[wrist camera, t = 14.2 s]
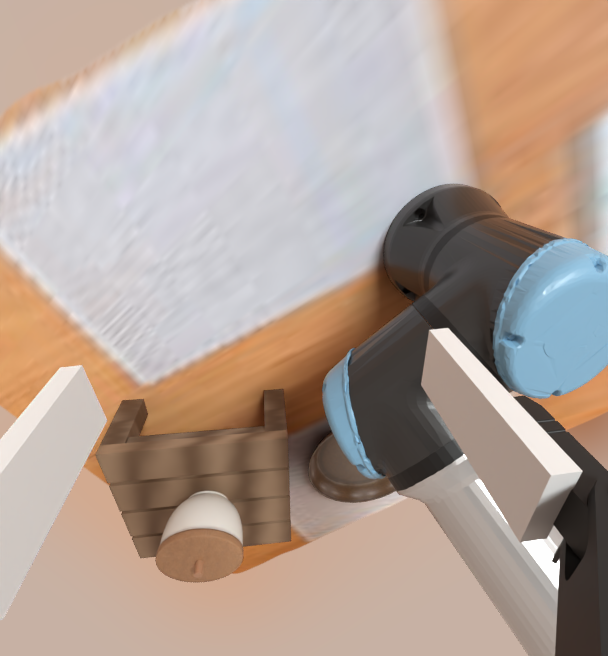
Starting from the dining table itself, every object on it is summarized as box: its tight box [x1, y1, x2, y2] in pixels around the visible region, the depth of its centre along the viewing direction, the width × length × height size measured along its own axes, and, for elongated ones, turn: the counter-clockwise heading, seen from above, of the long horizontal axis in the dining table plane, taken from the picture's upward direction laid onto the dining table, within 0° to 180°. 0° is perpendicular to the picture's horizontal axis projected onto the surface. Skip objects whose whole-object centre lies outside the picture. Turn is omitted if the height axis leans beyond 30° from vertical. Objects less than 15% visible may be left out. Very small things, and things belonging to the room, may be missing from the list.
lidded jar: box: [156, 491, 243, 582], centre depth 46 cm, size 11×11×9 cm
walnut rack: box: [96, 389, 291, 558], centre depth 55 cm, size 24×24×10 cm
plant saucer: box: [308, 432, 396, 503], centre depth 62 cm, size 21×21×3 cm
